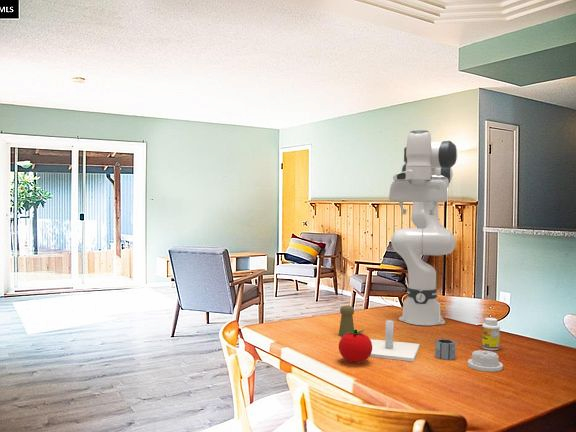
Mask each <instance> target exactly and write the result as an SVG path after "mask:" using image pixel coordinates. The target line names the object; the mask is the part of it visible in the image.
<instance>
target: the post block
mask: <svg viewBox="0 0 576 432" xmlns="http://www.w3.org/2000/svg"><path fill="white" fill-rule="evenodd" d="M394 321H395V320H391V319H389V320H388V319H387V320H385V335H384V337H385V339H383V340H382V339H372V338H369V339H370V340H371V342H372V352H371V355H370V356H369V358H377V359H388V360H397V361H405V362H414V361H415V360H416V357H417V354H418V351H419V349H420V343H413V342H405V341H394V325H395V324H394Z"/></svg>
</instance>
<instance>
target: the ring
mask: <svg viewBox="0 0 576 432" xmlns="http://www.w3.org/2000/svg"><path fill="white" fill-rule="evenodd" d="M434 342H435V344H434V345H435V347H434V357H435V358H436V359H439V360H447V361H448V360H449V361H450V360H455V359H456V355H457V354H456V352H457V351H456V349H457V348H456V347H457V341H456V340H454V339H447V338H437V339H435V341H434Z"/></svg>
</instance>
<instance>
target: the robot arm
mask: <svg viewBox="0 0 576 432" xmlns="http://www.w3.org/2000/svg"><path fill="white" fill-rule="evenodd" d="M403 152H404V153H403V162H404V164H403V165H402V168H401V170H400V172H398V173H395V174H394V175H393V176H392V178H393V179H392V180H393V181H392V183H391V184H390V187H389V195H388V200H390V202H398V205H399V207H400V209H401V214H402V215H407V209H406V208H405V209H404V207H403V205H404V202H412V209H411V217H410V218H411V222H412V224H413V225H414V227H411V228H409V227H405V228H399V229H396V230H395V231H394V232H393V233H392V235H391V240H390V242H391V247H392V249H393V250H394V251H395V253H397V254H398V255H399V256H400V257H401V258H402V259H403V260H404V263H405V265H406V267H407V275H408V287H407V291H406V295H407V297H406V299H404V300H403V303H402V304H403V305H402V306H403V307H402V315H401V316H399V317H398V321H401V322H405V323H406V324H409V325H410V324H411V325H416V326H436V325H445V324H446V320H445V319H444V317H443V316H442V311H441V303H440V301H438V299H437V296H438V289H437V271H436V269H435V267H434V266H432V265H430V264H429V263H427V262H425V261H423V259H422V257H421V256H445V255H451V254H452V253H453V251H454V250H455V248H456V244H457V243H456V241H457V239H456V237H455V235H454V234H453V232H452V231H451V230H450V229H447V228H446V227H445V226H443V225H442V224H441V221H440V218H439V203H445V202H447V201H448V200H449V198H448V197H449V196H448V195H449V194H448V188H449V185H450V184H451V181H452V179H453V175H454V174H453V169H452V168H453V166H455V164H456V162H457V159H458V149H457V145H456V144H455V143H454V142H452V141H451V140H442V141H432V137H431V132H430V131H428V130H424V129H423V130H421V129H420V130H411V131H409V132H408V135H407V137H406V146H405V147H404V149H403Z"/></svg>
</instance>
